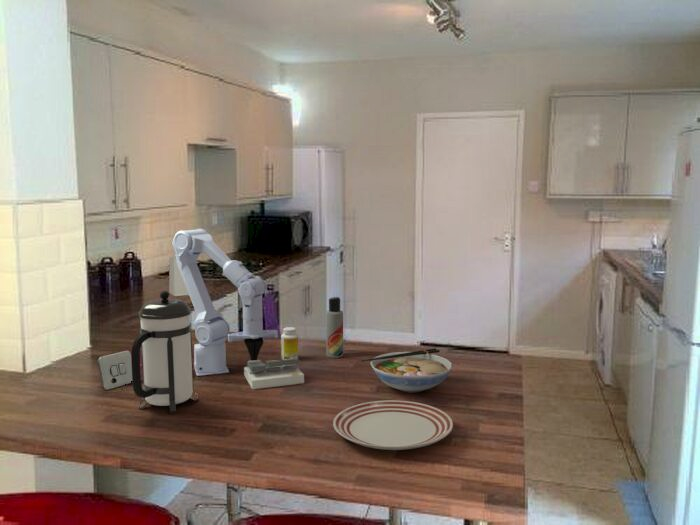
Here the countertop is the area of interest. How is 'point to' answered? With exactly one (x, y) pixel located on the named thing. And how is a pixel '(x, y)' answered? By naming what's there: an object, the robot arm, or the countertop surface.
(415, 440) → the dinner plate
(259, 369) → the panel
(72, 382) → the countertop surface
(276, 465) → the countertop surface
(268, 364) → the rocker middle
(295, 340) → the supplement bottle
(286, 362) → the rocker right
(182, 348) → the coffee press
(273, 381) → the switch unit
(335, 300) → the lotion bottle
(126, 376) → the electrical switch
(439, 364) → the ramen bowl
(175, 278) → the milk
